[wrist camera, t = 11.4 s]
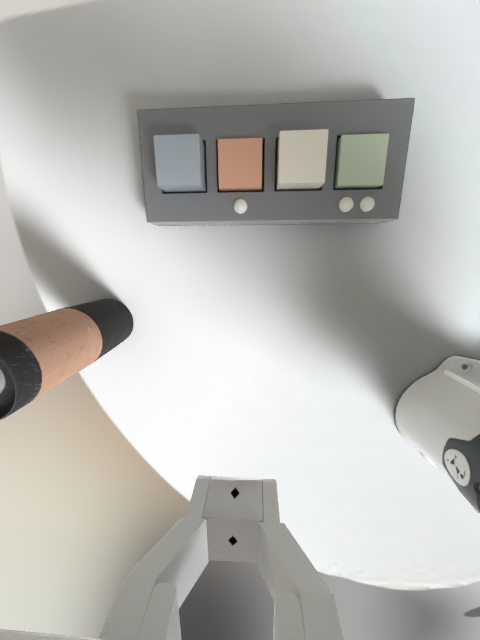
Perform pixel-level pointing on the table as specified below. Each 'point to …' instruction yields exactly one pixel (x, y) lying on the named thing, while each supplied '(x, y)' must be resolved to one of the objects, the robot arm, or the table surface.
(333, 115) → the keypad
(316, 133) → the cream key
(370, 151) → the sage key
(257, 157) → the terracotta key
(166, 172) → the slate key
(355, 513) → the table surface
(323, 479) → the table surface
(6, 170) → the table surface
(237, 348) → the table surface
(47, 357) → the travel mug
